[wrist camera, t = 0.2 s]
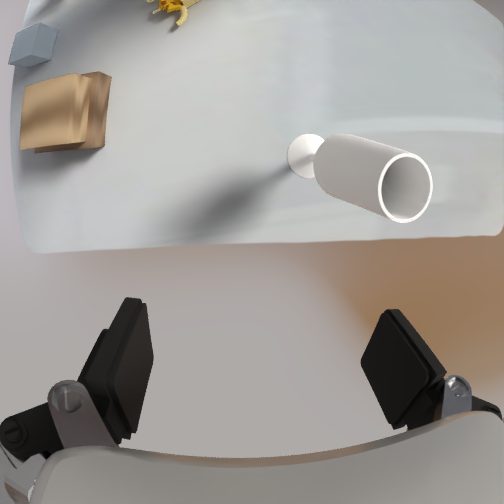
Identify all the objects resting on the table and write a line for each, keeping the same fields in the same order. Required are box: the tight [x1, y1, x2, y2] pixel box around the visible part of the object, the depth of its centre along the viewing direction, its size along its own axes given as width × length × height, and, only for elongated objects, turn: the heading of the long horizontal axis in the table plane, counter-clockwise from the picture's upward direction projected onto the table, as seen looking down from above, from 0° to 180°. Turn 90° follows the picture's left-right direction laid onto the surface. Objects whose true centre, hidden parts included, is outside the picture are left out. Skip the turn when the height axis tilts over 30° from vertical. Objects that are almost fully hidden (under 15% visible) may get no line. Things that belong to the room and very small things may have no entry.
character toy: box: [146, 0, 200, 26], centre depth 24 cm, size 8×3×8 cm
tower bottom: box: [35, 72, 112, 153], centre depth 29 cm, size 11×11×5 cm
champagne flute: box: [287, 134, 433, 223], centre depth 26 cm, size 7×7×24 cm
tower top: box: [20, 73, 92, 150], centre depth 25 cm, size 9×9×5 cm
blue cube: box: [8, 23, 58, 68], centre depth 22 cm, size 6×6×6 cm
